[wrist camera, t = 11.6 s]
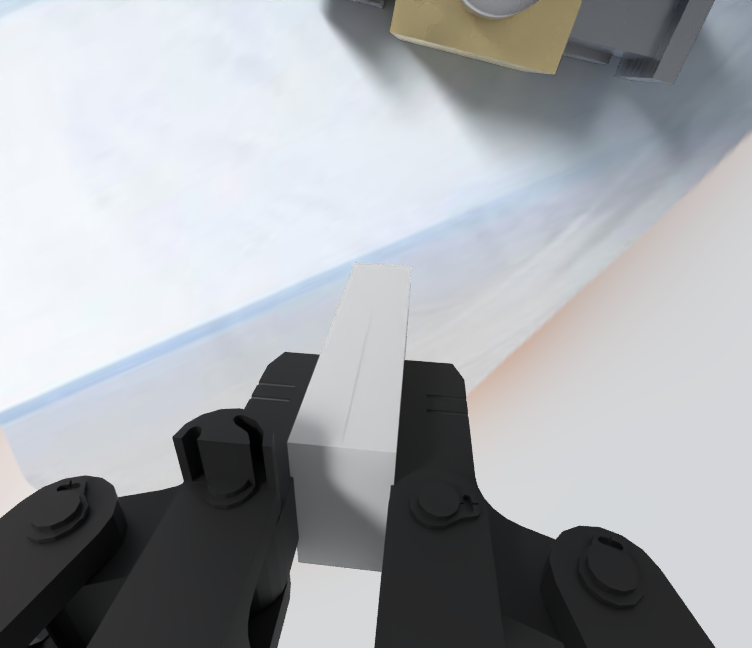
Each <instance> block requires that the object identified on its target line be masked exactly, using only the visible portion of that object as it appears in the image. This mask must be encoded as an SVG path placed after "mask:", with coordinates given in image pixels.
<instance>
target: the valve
mask: <svg viewBox="0 0 752 648" xmlns="http://www.w3.org/2000/svg"><path fill="white" fill-rule="evenodd" d="M352 1H356V2H360V3H364V4H368V5H372V6H376V7H379V8H383V6H384V1H385V0H352ZM714 1H715V0H539V1H537V2H536V3H535V4H533V5H532V6H530V7H529V8H527V9H525V10H523V11H522V12H520V13H518V14H516V15H514V16H512V17H509V18H506V19H501V20H486V19H482V18H479V17H476V16H474V15H473V14H471V13H470V12H468V11H467V10H466V9H465V8H464V7H463V6H462V5H461V4H460V3H459V1H458V0H396V1H395V6H394V12H393V17H392V22H391V27H390V33H392V34H393V35H394V36H395V37H397V38H398V39H399V40H403V41H407V42H411V43H415V44H418V45H422V46H426V47H430V48H434V49H438V50H442V51H446V52H450V53H453V54H457V55H461V56H465V57H469V58H473V59H477V60H481V61H484V62H488V63H492V64H496V65H500V66H504V67H508V68H512V69H515V70H519V71H523V72H533V73H543V74H554V75H555V73H556V70H557V68H558V65H559V62H560V60H561V57H562V55H565V56H568V57H572V58H576V59H580V60H584V61H588V62H592V63H595V64H608V63H609V60H610V58H611V56H612V55H615V56H619V57H622V58H621V61H620V63H619V65H618V67H617V70H616V72H615V74H614V76H616V77H620V78H624V79H628V80H633V81H645V82H656V83H668V84H674V82H675V80H676V78H677V76H678V74H679V72H680V70H681V68H682V66H683V64H684V62H685V60H686V58H687V56H688V54H689V52H690V50H691V48H692V45H693V43H694V41H695V39H696V37H697V35H698V33H699V31H700V29H701V27H702V25H703V23H704V21H705V19H706V17H707V15H708V13H709V11H710V9H711V7H712V5H713V3H714Z"/></svg>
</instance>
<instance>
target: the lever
mask: <svg viewBox="0 0 752 648" xmlns="http://www.w3.org/2000/svg"><path fill="white" fill-rule="evenodd" d="M458 1H459V3H460V4H461V5H462V6H463V7H464V8H465V9H466V10H467V11H468V12H470V13H471V14H473V15H474V16H476V17H479V18H482V19H486V20H501V19H506V18H509V17H512V16H514V15H516V14H518V13H520V12H522V11H523V10H525V9H527V8H529V7H530V6H532V5H533V4H535V3H536V2H537V1H539V0H458Z"/></svg>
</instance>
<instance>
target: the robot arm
mask: <svg viewBox="0 0 752 648" xmlns="http://www.w3.org/2000/svg"><path fill="white" fill-rule="evenodd" d="M411 271H412V266H403V265H387V264H372V263H357V262H355V263H354V266H353V269H352V271H351V274H350V277H349V279H348V282H347V284H346V287H345V290H344V292H343V295H342V298H341V300H340V303H339V306H338V308H337V311H336V314H335V316H334V319H333V322H332V324H331V327H330V330H329V332H328V335H327V338H326V340H325V343H324V346H323V348H322V351H321V354H320V355H316V354H304V353H291V352H284V353H283V354H282V355H280V356H279V357H278V358H277V359H275V360H274V361H273V362H271V363H270V364H269V365H268V366H267V368H266V370H265V372H264V373H263V375H262V377H261V379H260V381H259V385H257V386H256V388H255V390H254V392H253V394H252V398H251V399H249V401H248V403H247V405H246V407H245V409H240V408H238V409H220V410H217V411H213V412H210V413H206V414H203V415H201V416H199V417H197V418H195V419H194V420H192V421H190V422H188V423H186V424H185V425H184V426H183V427H182V428H181V429H180V430H179V431H178V432H177V433H176V434H175V435H174V436H173V437H172V438H173V442H174V446H175V449H176V453H177V457H178V461H179V464H180V468H181V472H182V476H183V479H184V482H183V484H181V485H178V486H176V487H172V488H168V489H164V490H159V491H153V492H147V493H141V494H135V495H129V496H123V497H118V496H117V494H116V491H115V488H114V486H113V485H112V484H110V483H109V482H107V481H106V480H105V479H103V478H99V477H92V476H79V477H73V478H66V479H63V480H60V481H58V482H55V483H53V484H50V485H48V486H45V487H43V488H41V489H40V490H38V491H36V492H35V493H33V494H32V495H30V496H29V497H27V498H26V499H24V500H23V501H21V502H20V503H19V504H17V505H16V506H15V507H14V508H13V509H11V510H10V511H9V512H8V513H6V514H5V515H4V516H3V517H1V518H0V648H277V646H278V642H279V639H280V634H281V631H282V626H283V623H284V619H285V615H286V611H287V607H288V604H289V600H290V587H291V586H290V585H291V582H290V569H291V566H292V562H293V558H294V555H295V551H296V547H297V551H298V561H299V562H302V563H310V564H318V565H328V566H336V567H344V568H353V569H362V570H370V571H380V572H382V574H381V585H380V596H379V606H378V617H377V627H376V637H375V647H374V648H715V646H714V645H713V643H712V642H711V641H710V639H709V638H708V636H707V635H706V633H705V632H704V631H703V629H702V628H701V626H700V625H699V624H698V622H697V621H696V619H695V618H694V616H693V615H692V613H691V612H690V611H689V609H688V608H687V606H686V605H685V603H684V602H683V601H682V599H681V598H680V596H679V595H678V594H677V592H676V591H675V589H674V588H673V586H672V585H671V584H670V582H669V581H668V579H667V578H666V577H665V575H664V574H663V572H662V571H661V569H660V568H659V567H658V566H657V565H656V564H655V563H654V562H653V560H652V559H651V558H650V557H649V556H648V555H647V554H646V553H645V552H644V551H643V550H642V549H641V548H639V547H638V546H636V545H635V544H633V543H632V542H631V541H629V540H628V539H626V538H625V537H623V536H622V535H619V534H616V533H614V532H611V531H609V530H606V529H603V528H601V527H589V526H577V527H574V528H571V529H568V530H566V531H563V532H562V533H561V534H560V535H559V537H558V538H557V539H556V540H555V539H553V538H550V537H548V536H545V535H542V534H540V533H538V532H535V531H533V530H530V529H527V528H525V527H522V526H520V525H518V524H516V523H514V522H512V521H510V520H508V519H506V518H505V517H504V516H502V515H501V514H500V513H498V512H497V511H496V510H494V509H493V508H492V507H491V505H490V504H489V503H488V502H487V501H486V500H485V499H484V497H483V495H482V494H481V492H480V490H479V488H478V486H477V482H476V478H475V471H474V462H473V454H472V444H471V436H470V427H469V419H468V409H467V401H466V391H465V382H464V379H463V378H462V376H461V375H460V373H459V372H458V371H457V369H456V368H455V367H454V365H453V364H448V363H435V362H423V361H411V360H405V353H406V339H407V325H408V312H409V298H410V284H411Z"/></svg>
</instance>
